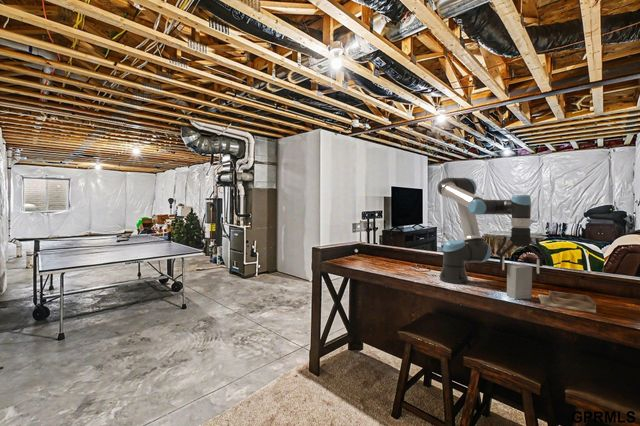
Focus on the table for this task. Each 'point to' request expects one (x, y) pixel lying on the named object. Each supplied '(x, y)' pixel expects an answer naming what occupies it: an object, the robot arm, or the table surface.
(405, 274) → the table surface
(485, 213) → the robot arm
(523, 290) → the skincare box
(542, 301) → the socket board
